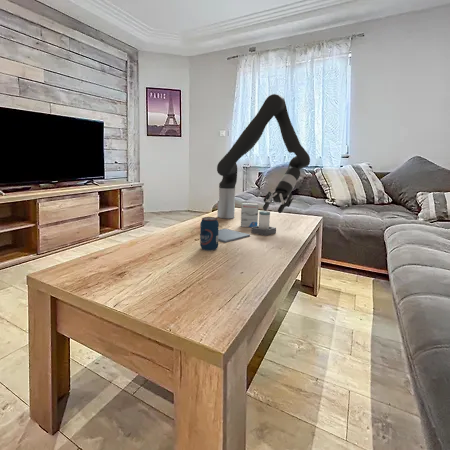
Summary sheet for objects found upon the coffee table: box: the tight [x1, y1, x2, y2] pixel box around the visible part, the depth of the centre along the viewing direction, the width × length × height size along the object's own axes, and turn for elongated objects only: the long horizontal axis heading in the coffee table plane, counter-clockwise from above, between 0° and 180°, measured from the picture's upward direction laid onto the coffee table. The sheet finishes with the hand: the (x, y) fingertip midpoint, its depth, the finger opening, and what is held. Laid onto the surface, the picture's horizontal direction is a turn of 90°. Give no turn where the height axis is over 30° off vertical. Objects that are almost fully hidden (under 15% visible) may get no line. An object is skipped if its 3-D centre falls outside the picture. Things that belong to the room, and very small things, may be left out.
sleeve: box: [251, 225, 277, 237], centre depth 148 cm, size 8×8×2 cm
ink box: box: [240, 202, 259, 228], centre depth 161 cm, size 8×5×12 cm, turn 84°
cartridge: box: [258, 210, 271, 230], centre depth 147 cm, size 5×5×10 cm
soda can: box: [199, 216, 220, 252], centre depth 120 cm, size 7×7×12 cm
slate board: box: [218, 228, 251, 243], centre depth 141 cm, size 16×16×1 cm
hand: (271, 210), depth 150 cm, fingers open, 8 cm apart
